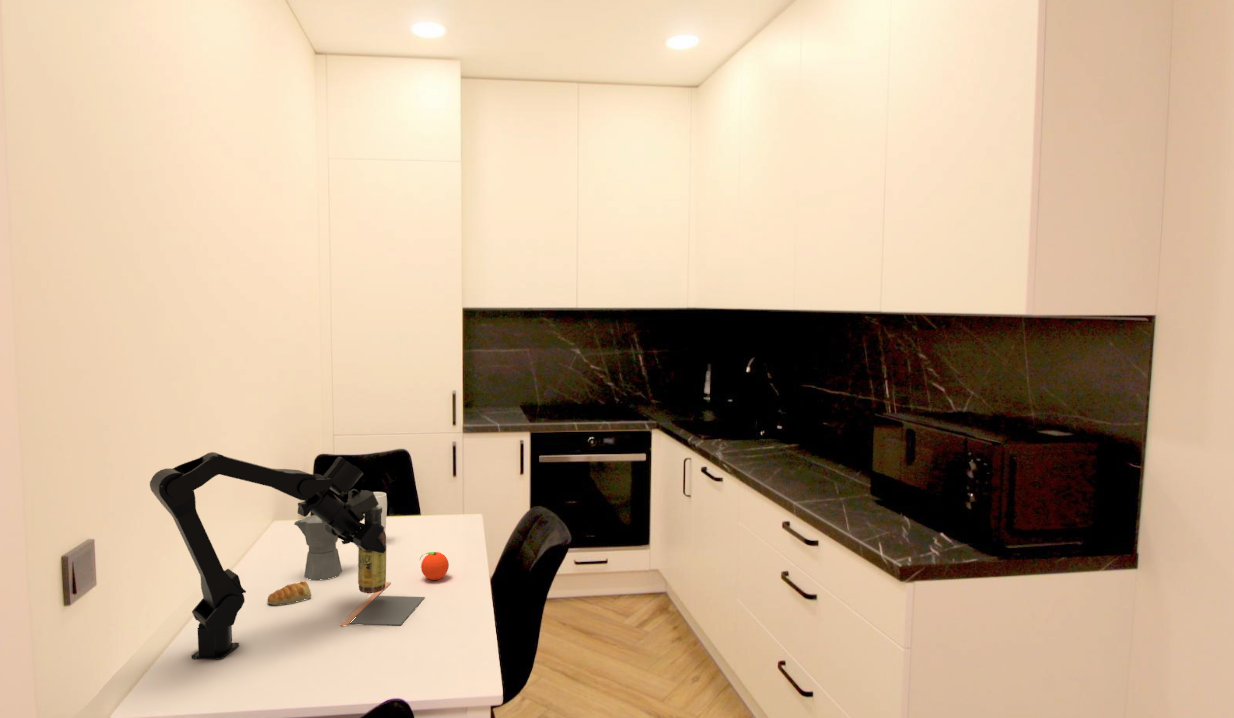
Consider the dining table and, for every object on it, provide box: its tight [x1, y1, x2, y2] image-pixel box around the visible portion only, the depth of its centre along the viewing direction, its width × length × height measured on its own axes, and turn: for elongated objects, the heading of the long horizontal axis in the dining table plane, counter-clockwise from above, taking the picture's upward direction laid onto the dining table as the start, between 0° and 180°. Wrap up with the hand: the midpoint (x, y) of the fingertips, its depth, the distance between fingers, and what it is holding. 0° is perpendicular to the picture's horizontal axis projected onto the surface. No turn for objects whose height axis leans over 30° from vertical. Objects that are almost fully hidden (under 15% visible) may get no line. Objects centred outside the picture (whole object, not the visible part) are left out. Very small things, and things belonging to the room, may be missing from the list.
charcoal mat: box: [349, 595, 425, 627], centre depth 175 cm, size 16×12×1 cm
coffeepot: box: [293, 514, 351, 581], centre depth 200 cm, size 15×9×18 cm, turn 116°
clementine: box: [419, 551, 450, 581], centre depth 196 cm, size 8×7×7 cm
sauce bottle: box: [357, 505, 387, 594], centre depth 178 cm, size 7×6×20 cm
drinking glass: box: [363, 491, 388, 533], centre depth 224 cm, size 7×7×15 cm
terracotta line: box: [340, 581, 392, 626], centre depth 180 cm, size 26×2×1 cm, turn 176°
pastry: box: [267, 580, 312, 606], centre depth 182 cm, size 9×7×4 cm
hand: (378, 548), depth 179 cm, fingers closed on sauce bottle, 6 cm apart
